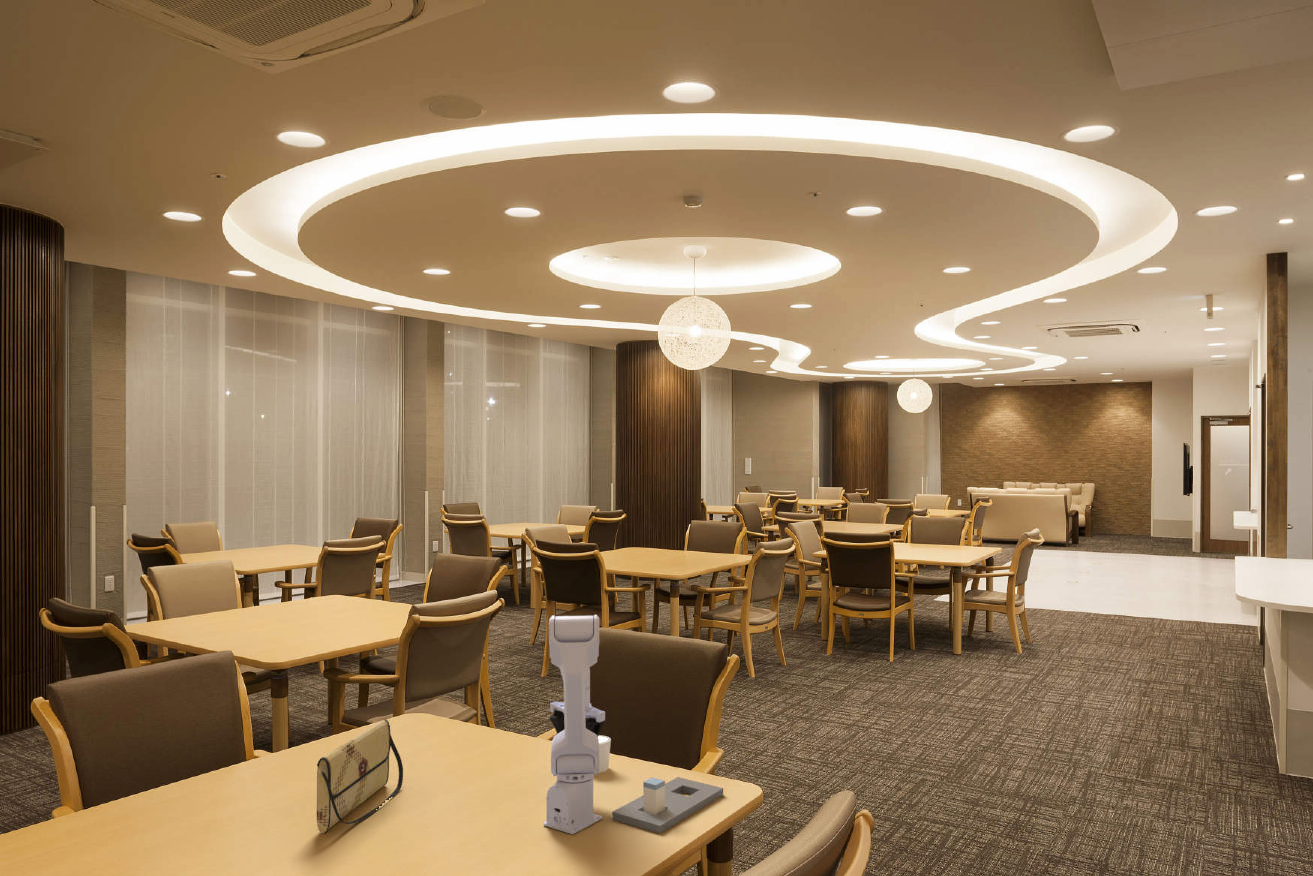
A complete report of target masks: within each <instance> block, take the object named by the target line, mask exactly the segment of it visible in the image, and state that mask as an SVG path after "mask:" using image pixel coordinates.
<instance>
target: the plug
mask: <svg viewBox="0 0 1313 876" xmlns="http://www.w3.org/2000/svg"><path fill="white" fill-rule="evenodd" d="M665 784H666V780H664V779H661V778H656V777H650V778H648V779H646V780H645V781H643V786H642V787H643V788H642V789H643V790H642V791H643V792H642V793H643V795H642V796H643V800H644V812H646V813H650V814H653V815H657V814H659V813H660V812H662V811H664V810H665Z"/></svg>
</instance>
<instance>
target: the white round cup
mask: <svg viewBox="0 0 1313 876" xmlns="http://www.w3.org/2000/svg"><path fill="white" fill-rule="evenodd" d="M598 739H599V762H600V770H599V773H601V774H602V773H604V772H607V771H608V770H609V768H610V767H609V766H610V752H611V742H612V739H611V737H609V736H606V735H600V734H599V735H598ZM599 773H598V774H599ZM594 774H595V770H594Z"/></svg>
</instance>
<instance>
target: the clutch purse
mask: <svg viewBox="0 0 1313 876" xmlns="http://www.w3.org/2000/svg"><path fill="white" fill-rule="evenodd" d="M391 750H392V752H393V755H394V757H395V759H396V762H397V767H398V780H397V785H396V788H395V789H394V791H393V792H392V793H391V794H390V795H389V796H388V797H387V798H386V799H385V800H389V798H391V797H393V798H395V796H396V795H397V794H398V793H399V792H400V791H401V788H402V786H403V780H404V766H403V761H402V758H401V755H400V752H399V751H398V749H397V746H396V745H395V742H394V740H393V737H392V735H391V725H390V722H389V720H388V719H386V718H384V719H381V720H380V721H378V722H377V723H376V724H374V725H372V726H371V727H369V728H367V729H366V730H365V731H363V732H361V733H359V734H358V735H356V736H355V737H353V738H351V739H349V740H348V741H347V742H345V743H344V744H342V745H339V747H337V748H335V749H333V750H332V751H331V752H329V753H327V754H326V755H324V756H322V757H321V758H319V760H318V761H317V764H316V766H317V770H316V771H317V772H316V775H317V776H316V824H317V829H318V831H319V833H321V834H325V833H327V832H328V830H330V829H331V828H332V827H333V826H334V825H336V824H337V823H339V822H340V823H342V824H345V825H355V824H357V823H359V822H362V821H363V820H365V819H366V818H368V817H370V816H372V814H375V813H376V812H378V810H376V809H379V806H382V803H385V800H384V801H383V802H382V803H380V804H379V805H378V806H376V807H374V808H373V809H372V810H370V811H368V812H367V813H365V814H364V815H362V816H360V817H359V818H356V819H355V820H353V821H347V822H345V821H344V820H343V819H344V818H345V817H346V816H348V815H349V814H350V813H351V812H352V811H354V810H355V809H356V808H357V807H359V806H361V804H363V803H364V802H366V800H368V799H369V798H370V797H371V796H373V794H376V792H378V791H379V790H380V789H381V788H383V787H385V786H386V785H387V784H388V782H389V781H388V780H389V778H390V777H389V775H390V753H391ZM384 785H385V786H384ZM379 810H380V809H379Z"/></svg>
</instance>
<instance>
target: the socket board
mask: <svg viewBox="0 0 1313 876" xmlns="http://www.w3.org/2000/svg"><path fill="white" fill-rule="evenodd" d="M682 793H684V794H688V795H684V794H682ZM722 796H724V788H723V787H721V786H720V787H719V786H716V785H712V784H708V783H704V782H700V781H696V780H692V779H688V778H684V777H681V776H680V777H679V776H676V777H675V778H673V779H672V780H669V781H668V782H665V810H664V811H662V812H660V813H659V814H657V815H653V814H650V813H646V812H644V800H643V795H641V796H639V797H637V798H635V799H634V800H631V801H630V802H628V803H627V804H625V805H622V806H620V807H618V808H616V809H615V810H614V811H611V813H612V814H611V819H612V820H613V821H616V822H620V823H624V824H627V825H629V826H634V827H637V828H640V829H643V830H647V831H650V832H653V833H656V834H657V833H658V834H662V833H664V832H665V831H667V830H669V829H671V827H673V826H675V825H677V824H678V823H680V822H682V821H683V820H686V818H688V817H690V816H692V815H693V814H695V813H696V812H698V811H700V810H702V809H703V808H704V807H706V806H707V805H708V806H709V804H711V803H713V802H715V801H716V800H718V799H720V798H721V797H722Z"/></svg>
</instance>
